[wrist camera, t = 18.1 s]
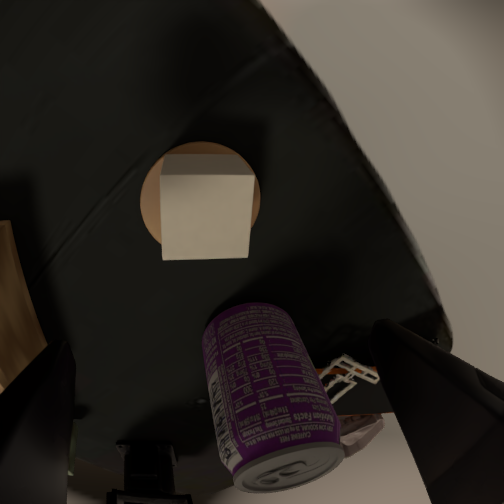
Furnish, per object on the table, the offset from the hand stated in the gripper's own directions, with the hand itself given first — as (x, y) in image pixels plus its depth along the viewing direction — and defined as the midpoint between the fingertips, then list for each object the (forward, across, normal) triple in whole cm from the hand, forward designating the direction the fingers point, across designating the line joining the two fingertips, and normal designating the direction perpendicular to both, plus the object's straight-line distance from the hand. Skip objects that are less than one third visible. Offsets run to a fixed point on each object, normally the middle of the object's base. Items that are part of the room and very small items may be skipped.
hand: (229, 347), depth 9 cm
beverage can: (+12, -4, +11) cm, 17 cm away
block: (+11, 0, -1) cm, 11 cm away
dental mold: (+7, -15, +24) cm, 29 cm away
